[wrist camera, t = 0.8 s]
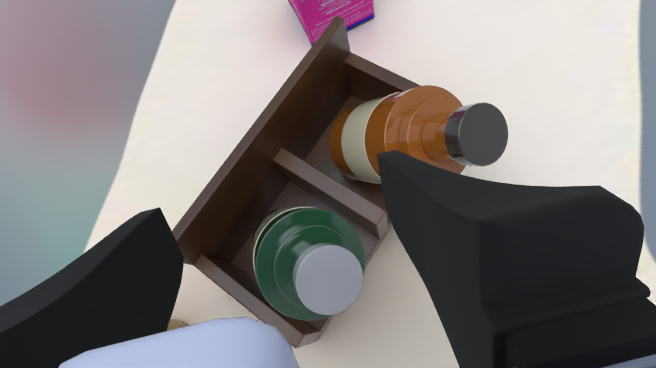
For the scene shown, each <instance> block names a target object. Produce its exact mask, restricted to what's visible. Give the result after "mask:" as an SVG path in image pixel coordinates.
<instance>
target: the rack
mask: <svg viewBox="0 0 656 368" xmlns="http://www.w3.org/2000/svg"><path fill="white" fill-rule="evenodd" d="M419 86H420V85H418V84H416V83H414V82H412V81H410V80H407V79H405V78H403V77H401V76H399V75H397V74H395V73H393V72H391V71H389V70H387V69H384V68H382V67H380V66H378V65H376V64H374V63H372V62H370V61H368V60H366V59H363V58H361V57H359V56H357V55H355V54H353V53H351V52H350V47H349V42H348V37H347V31H346V26H345V21H344V19H343V18H341V17H339V16H335V17H334V19H333V20H332V21H331V23H330V24H329V25H328V27H327V28H326V29H325V31H324V32H323V33H322V34H321V36H320V37H319V38H318V40H317V41H316V42H315V44H314V45H313V46H312V48H311V49H310V50H309V52H308V53H307V54H306V56H305V57H304V58H303V59H302V61H301V62H300V63H299V65H298V66H297V67H296V69H295V70H294V71H293V73H292V74H291V75H290V77H289V78H288V79H287V81H286V82H285V83H284V84H283V86H282V87H281V88H280V90H279V91H278V92H277V94H276V95H275V96H274V98H273V99H272V100H271V102H270V103H269V104H268V106H267V107H266V108H265V109H264V111H263V112H262V113H261V115H260V116H259V117H258V119H257V120H256V121H255V123H254V124H253V125H252V127H251V128H250V129H249V131H248V132H247V133H246V134H245V136H244V137H243V138H242V140H241V141H240V142H239V144H238V145H237V146H236V148H235V149H234V150H233V152H232V153H231V154H230V156H229V157H228V158H227V159H226V161H225V162H224V163H223V165H222V166H221V167H220V169H219V170H218V171H217V173H216V174H215V175H214V177H213V178H212V179H211V181H210V182H209V183H208V184H207V186H206V187H205V188H204V190H203V191H202V192H201V194H200V195H199V196H198V198H197V199H196V200H195V202H194V203H193V204H192V206H191V207H190V208H189V209H188V211H187V212H186V213H185V215H184V216H183V217H182V219H181V220H180V221H179V223H178V224H177V225H176V227H175V228H174V229H173V231H172V233H173V235H174V237H175V239H176V241H177V243H178V245H179V247H180V249H181V251H182V253H183V255H184V263H185V264H190V265H194V266H195V267H196V268H197V269H198V270H200V271H201V272H202V273H203V274H205V275H206V276H207V277H208V278H210V279H211V280H212V281H213V282H214V283H216V284H217V285H218V286H219V287H221V288H222V289H223V290H224V291H226V292H227V293H228V294H229V295H230V296H232V297H233V298H234V299H235V300H237V301H238V302H239V303H240V304H242V305H243V306H244V307H245V308H246V309H248V310H249V311H250V312H251V313H253V314H254V315H255V316H256V317H258V318H259V319H260V320H261V321H262V322H264V323H265V324H268V325H271V326H274V327H276V329H277V330H278V331H279V332H280V333H281V334H282V336H283V337H284V338H285V339H286V340H287V341H288V343H289V344H291V345H292V346H293V347H294V348H298V347H301V346H304V345H307V344H310V343H312V342H315V341H317V340H318V338H319V337H320V335H321V334H322V332H323V331H324V329H325V328H326V326H327V325H328V323H329V322H330V320H331V319H332V317H333V315H331V316H329V317H326V318H323V319H318V320H309V321H306V320H298V319H294V318H291V317H288V316H286V315H284V314H282V313H280V312H279V311H277V310H276V309H275V308H273V307H272V306H271V305H270V304H269V303H268V301H267V300H266V299H265V297H264V296H263V294H262V292H261V290H260V288H259V285H258V282H257V278H256V275H255V272H254V267H253V263H252V257H251V239H252V235H253V232H254V230H255V228H256V226H257V225H258V223H259V222H260V220H261V219H262V218H263V217H264V216H265V215H267V214H268V213H269V212H271V211H273V210H275V209H277V208H280V207H284V206H307V207H314V208H318V209H324V210H328V211H331V212H333V213H335V214H338V215H339V216H341V217H342V218H344V219H345V220H346V221H347V222H349V224H350V225H351V226H352V227H353V228H354V229H355V231H356V232H357V234H358V236H359V238H360V240H361V242H362V245H363V249H364V254H365V266H366V265H367V263H368V262H369V260H370V259H371V257H372V256H373V254H374V253H375V251H376V249H377V248H378V246H379V245H380V243H381V242H382V240H383V239H384V237H385V236H386V234H387V233H388V231H389V230H390V228H391V226H392V223H391V220H390V218H389V215H388V213H387V210H386V207H385V202H384V196H383V190H382V185H376V184H371V183H365V182H359V181H355V180H352V179H350V178H348V177H346V176H345V175H344V174H342V173H341V172H340V171H339V169H338V168H337V167H336V165H335V164H334V162H333V160H332V157H331V154H330V149H329V137H330V132H331V128H332V126H333V124H334V122H335V120H336V119H337V117H338V116H339V115H340V114H341V113H342V112H343V111H344V110H346V109H347V108H349V107H351V106H354V105H357V104H361V103H364V102H366V101H369V100H373V99H376V98H379V97H383V96H386V95H389V94H393V93H396V92H402V91H405V90H409V89H412V88H415V87H419Z"/></svg>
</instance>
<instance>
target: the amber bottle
mask: <svg viewBox="0 0 656 368" xmlns="http://www.w3.org/2000/svg"><path fill="white" fill-rule="evenodd" d="M507 140H508V127H507V123H506V120H505V118H504V116H503V114H502V113H501V112H500V110H499V109H498V108H496V107H495V106H493V105H491V104H488V103H476V104H471V105H465V106H463V105H462V104H461V102H460V101H459V100H458V99H457V98H456V97H455V96H454V95H453V94H452V93H450V92H449V91H447V90H445V89H443V88H440V87H437V86H431V85H425V86H419V87H415V88H412V89H409V90H405V91H402V92H396V93H393V94H389V95H386V96H383V97H379V98H376V99H373V100H369V101H366V102H364V103H361V104H357V105H354V106H351V107H349V108H347V109H346V110H344V111H343V112H342V113H341V114H340V115H339V116H338V117H337V119H336V120H335V122H334V124H333V126H332V128H331V132H330V137H329V149H330V154H331V157H332V160H333V162H334V164H335V165H336V167H337V168H338V169H339V171H340V172H341V173H342V174H344V175H345V176H346V177H348V178H350V179H352V180H355V181H359V182H365V183H371V184H376V185H382V184H381V178H380V171H379V165H378V159H377V154H380V153H384V152H388V151H392V150H397V151H400V152H403V153H405V154H407V155H410V156H412V157H414V158H416V159H419V160H421V161H423V162H426V163H428V164H431V165H433V166H436V167H439V168H442V169H445V170H448V171H451V172H454V173H457V174H460V173H461V172H462V170H463V169H464V167H465V166H488V165H490V164H492V163H494V162H496V161H497V160H498V159H499V158H500V157H501V155H502V154H503V152H504V150H505V148H506V145H507Z"/></svg>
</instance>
